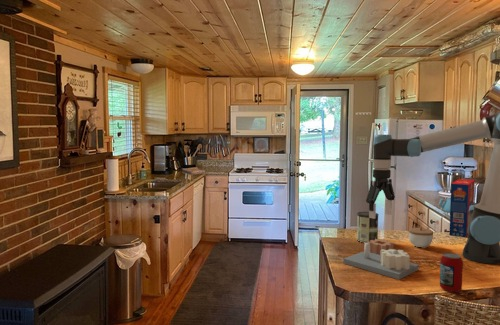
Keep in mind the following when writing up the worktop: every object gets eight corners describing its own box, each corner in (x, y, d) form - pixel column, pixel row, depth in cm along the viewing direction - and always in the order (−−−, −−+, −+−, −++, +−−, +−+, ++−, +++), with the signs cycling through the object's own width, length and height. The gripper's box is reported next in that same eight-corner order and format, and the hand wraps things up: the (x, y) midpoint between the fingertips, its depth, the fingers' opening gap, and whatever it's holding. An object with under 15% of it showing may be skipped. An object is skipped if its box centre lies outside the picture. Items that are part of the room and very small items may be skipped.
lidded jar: (422, 242, 188) (423, 224, 187) (437, 248, 178) (438, 229, 177) (403, 244, 186) (404, 225, 185) (418, 250, 175) (418, 230, 175)
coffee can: (376, 238, 195) (377, 211, 194) (379, 244, 185) (379, 215, 184) (355, 237, 197) (356, 211, 196) (357, 243, 187) (357, 215, 186)
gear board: (418, 269, 149) (419, 249, 149) (398, 279, 139) (399, 258, 138) (364, 255, 167) (364, 237, 167) (343, 263, 157) (343, 244, 156)
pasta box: (466, 237, 198) (468, 184, 196) (449, 235, 202) (451, 183, 201) (472, 227, 220) (474, 180, 218) (457, 225, 225) (458, 179, 223)
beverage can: (435, 285, 133) (436, 252, 132) (453, 285, 134) (455, 251, 133) (447, 293, 126) (448, 258, 126) (466, 292, 127) (467, 258, 126)
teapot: (447, 209, 278) (447, 194, 277) (469, 212, 266) (469, 197, 265) (437, 211, 268) (437, 196, 268) (459, 215, 257) (460, 199, 256)
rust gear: (395, 253, 170) (395, 242, 170) (384, 258, 163) (384, 246, 163) (375, 248, 177) (376, 238, 177) (364, 253, 171) (365, 242, 170)
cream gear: (402, 261, 153) (402, 249, 152) (411, 269, 143) (411, 256, 143) (378, 261, 153) (378, 249, 153) (385, 269, 144) (385, 256, 143)
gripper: (388, 167, 179) (387, 211, 181) (358, 169, 163) (357, 218, 165) (403, 168, 174) (402, 213, 175) (374, 171, 158) (372, 221, 159)
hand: (380, 216), depth 170 cm, fingers open, 13 cm apart
